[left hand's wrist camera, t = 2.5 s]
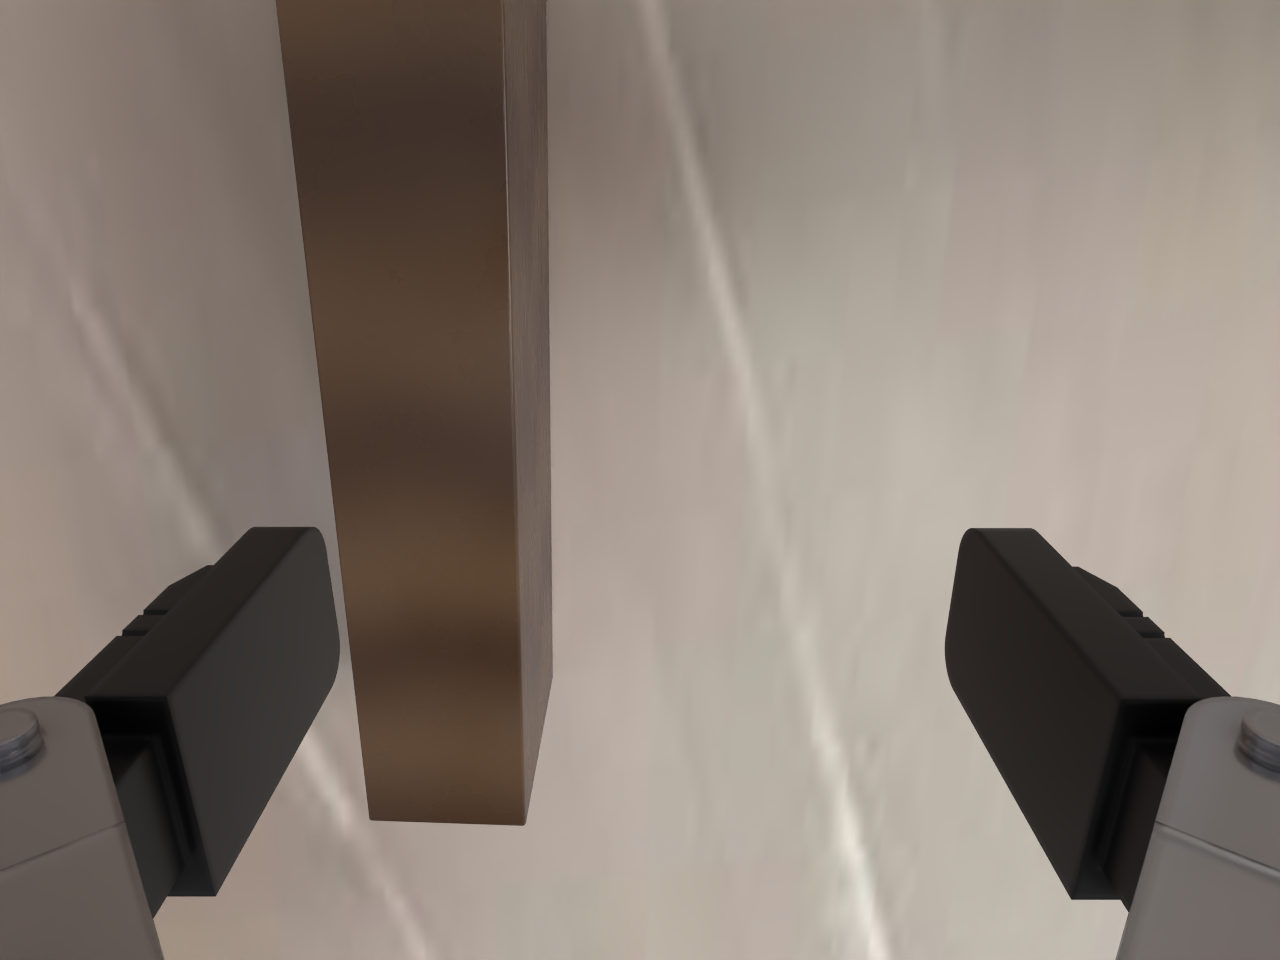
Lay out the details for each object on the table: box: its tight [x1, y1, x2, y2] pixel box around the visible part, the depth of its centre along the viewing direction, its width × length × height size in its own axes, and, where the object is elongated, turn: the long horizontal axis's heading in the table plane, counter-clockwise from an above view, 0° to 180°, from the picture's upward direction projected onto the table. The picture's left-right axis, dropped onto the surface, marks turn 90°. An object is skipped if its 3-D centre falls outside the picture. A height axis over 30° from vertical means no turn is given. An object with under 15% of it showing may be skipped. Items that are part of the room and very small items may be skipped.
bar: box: [276, 0, 553, 826], centre depth 26 cm, size 25×5×8 cm, turn 178°
